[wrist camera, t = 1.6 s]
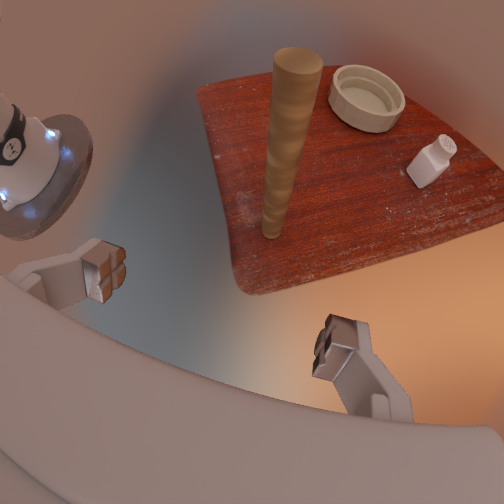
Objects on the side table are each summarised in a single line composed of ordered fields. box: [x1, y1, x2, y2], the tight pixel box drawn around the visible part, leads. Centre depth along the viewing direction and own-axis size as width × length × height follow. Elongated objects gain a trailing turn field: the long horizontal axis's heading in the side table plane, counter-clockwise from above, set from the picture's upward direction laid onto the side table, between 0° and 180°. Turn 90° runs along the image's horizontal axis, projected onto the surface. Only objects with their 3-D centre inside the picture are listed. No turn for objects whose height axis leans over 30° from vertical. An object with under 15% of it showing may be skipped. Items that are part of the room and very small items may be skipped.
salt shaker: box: [406, 135, 457, 188], centre depth 36 cm, size 4×4×10 cm
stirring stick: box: [261, 47, 323, 239], centre depth 25 cm, size 3×3×26 cm
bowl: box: [328, 65, 405, 133], centre depth 42 cm, size 12×13×5 cm
